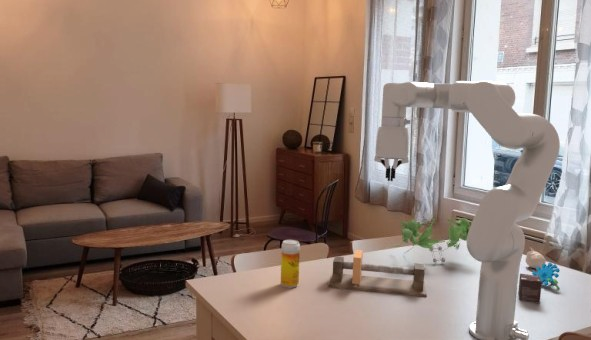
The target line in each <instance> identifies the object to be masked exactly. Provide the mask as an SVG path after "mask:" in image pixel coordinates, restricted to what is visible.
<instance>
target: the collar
mask: <svg viewBox="0 0 591 340" xmlns="http://www.w3.org/2000/svg"><path fill="white" fill-rule="evenodd" d="M363 253H364V250H361V249H355V251H354V254H353V270H352V275H353V278H352V283H353V284H360V280H361V276H363V275H362V274H363V273H362V270H361V263H363Z"/></svg>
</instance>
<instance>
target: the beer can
mask: <svg viewBox="0 0 591 340" xmlns="http://www.w3.org/2000/svg"><path fill="white" fill-rule="evenodd" d="M280 251H281V253H280V255H281V260H280V261H281V262H280V284H281V286H282V287H284V288H286V289H292V288H296V287H297V286H299V284H300V259H301V258H300V254H301V244H300V241H298V240H296V239H285V240H283V241H282V244H281V250H280Z"/></svg>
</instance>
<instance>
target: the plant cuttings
mask: <svg viewBox="0 0 591 340" xmlns="http://www.w3.org/2000/svg"><path fill="white" fill-rule="evenodd" d="M429 220H432V222H431V223H428V221H429ZM435 220H436V219H435V218H431V217H430V218H427V220H425V223H426V224H427V225H429V226H428V227H427V228H426V229H425V226H424V225H421V222H420V221H418V222H416V221H415V219H410V220H409V221H405V222H404V221H401V222H399V225H400V226H399V227H402V226H404V227H403V228H402V229H401V236H402V239H401V240H402V242H401V243H400V244H398V245H394V246H393V247H395V248H397V247H401V246H402V244H404V243H406V244H408V242H409V241H410V242H411V245H412V246H413V247H415V246H416V247H417V246H419V247H421V248H422V249H423V248H424V249H428V251H430V252H431V253H432V254H431V256H432V262H433V263H434V264H436V265H438V263H437V261H441V263H442V264H444V263H445V262H446V258H445V257H442V256H443V255H442V252H444V251H445V250H448V248H452V247H454V248H455V249H456V251H458V250H459V249H460V245H461V244H460V243H458V242H460V241H461V240H462V241H465V242H467V235H468V232H469V229H470V227H471V224H472V222H473V219H472V220H471V222H470V221H469V220H468V219H467V218H465V217H462V218H459V219H457V220H456V219H453V220H452V217H447V218H446V221H447V223H448V224H447V227H448V235H449V236H448V238H447V240H448V241H447V242H446V240H441V241H439V240H437V239H435V238H434V237H433V236H434V234H432V231H433V232H435V230H434V228H433V224H434V223H435ZM450 224H451V226H450ZM421 228H422V230H423V229H425V231H424V232H423V233H421V235H420V231H418V230H419V229H421ZM417 237H418V239H417ZM439 243H446V244H447V245H446V246H447V248H445V249H443V247H442V246H441V245H439ZM434 245H436V246H437V247H436V248H435V247H434ZM413 247H412V248H410V249H408V250H407V251H405V252H404V253H403V254H406V253H408V252H410V250H412V249H413ZM436 250H437V251H440V252H438V254H439V255H440V256H439V259H438V257H437V258H436V256H435V255H434V252H436Z"/></svg>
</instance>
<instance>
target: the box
mask: <svg viewBox="0 0 591 340" xmlns="http://www.w3.org/2000/svg"><path fill="white" fill-rule="evenodd" d="M541 285H542V286H543V284H542V281H541V279H540V276H536V275H533V274H526V273H519V278H518V289H517V295H518V300H519V301H521V302H529V303H537V304H540V303H541V296H542V295H541V292H542V286H541Z"/></svg>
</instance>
